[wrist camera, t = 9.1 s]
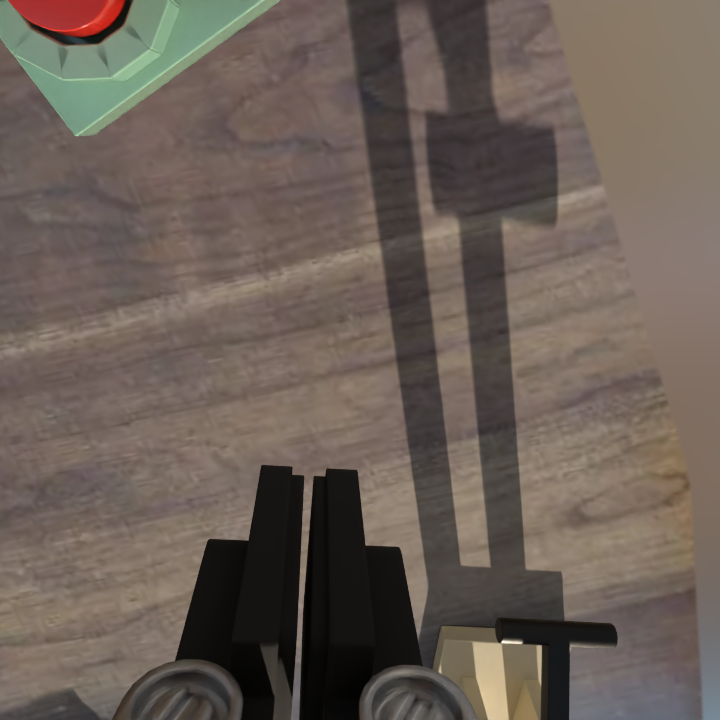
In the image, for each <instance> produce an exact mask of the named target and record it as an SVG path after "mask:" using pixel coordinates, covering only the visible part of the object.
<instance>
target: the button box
mask: <svg viewBox="0 0 720 720" xmlns="http://www.w3.org/2000/svg"><path fill="white" fill-rule="evenodd" d="M279 1H280V0H127V1H126V4H125V7H124V9H123V12H122V13H121V15H120V17H119V18H118V19H117V21H116V22H115V23H114V24H113V25H112V26H111V27H110V28H108V29H107V30H105V31H104V32H102V33H99V34H97V35H94V36H90V37H72V36H67V35H64V34H60V33H57V32H54V31H51V30H48V29H45V28H42V27H40V26H38V25H36V24H34V23H32V22H31V21H29V20H27V19H26V18H25V17H24V16H22V15H21V14H20V13H19V12H18V11H17V10H16V9H15V8H14V7H13V6H12V5H11V4H10V2H9V1H8V0H0V39H1V40H2V41H3V43H4V44H5V45H6V47H7V48H8V49H9V51H10V52H11V53H12V54H13V55H14V56H15V58H16V59H17V60H18V62H19V63H20V64H21V66H22V67H23V68H24V70H25V71H26V72H27V73H28V75H29V76H30V77H31V79H32V80H33V81H34V83H35V84H36V85H37V87H38V88H39V89H40V91H41V92H42V93H43V95H44V96H45V97H46V98H47V100H48V101H49V102H50V104H51V105H52V106H53V108H54V109H55V110H56V112H57V113H58V114H59V116H60V117H61V118H62V119H63V121H64V122H65V123H66V125H67V126H68V127H69V129H70V130H71V131H72V133H73V134H74V135H75V136H90V135H95V134H96V133H98V132H99V131H100V130H102V129H103V128H105V127H106V126H107V125H109V124H110V123H112V122H113V121H114V120H116V119H117V118H118V117H120V116H121V115H123V114H124V113H125V112H127V111H128V110H129V109H131V108H132V107H134V106H135V105H136V104H138V103H139V102H141V101H142V100H143V99H145V98H146V97H147V96H149V95H150V94H152V93H153V92H154V91H156V90H157V89H158V88H160V87H161V86H163V85H164V84H165V83H167V82H168V81H170V80H171V79H172V78H174V77H175V76H176V75H178V74H179V73H181V72H182V71H183V70H185V69H186V68H188V67H189V66H190V65H192V64H193V63H194V62H196V61H197V60H199V59H200V58H201V57H203V56H204V55H205V54H207V53H208V52H210V51H211V50H212V49H214V48H215V47H217V46H218V45H219V44H221V43H222V42H223V41H225V40H226V39H228V38H229V37H230V36H232V35H233V34H234V33H236V32H237V31H239V30H240V29H241V28H243V27H244V26H246V25H247V24H248V23H250V22H251V21H252V20H254V19H255V18H257V17H258V16H259V15H261V14H262V13H263V12H265V11H266V10H268V9H269V8H270V7H272V6H273V5H275V4H276V3H277V2H279Z"/></svg>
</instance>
